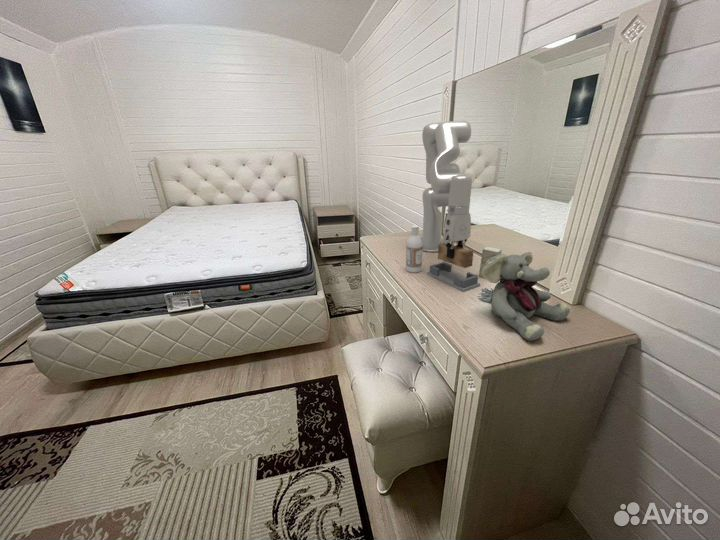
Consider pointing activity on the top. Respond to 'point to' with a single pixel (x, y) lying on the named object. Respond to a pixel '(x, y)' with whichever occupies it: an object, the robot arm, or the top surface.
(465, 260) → the slat
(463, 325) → the top surface
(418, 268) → the bath foam
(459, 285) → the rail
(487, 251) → the skincare box
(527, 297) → the plush elephant
